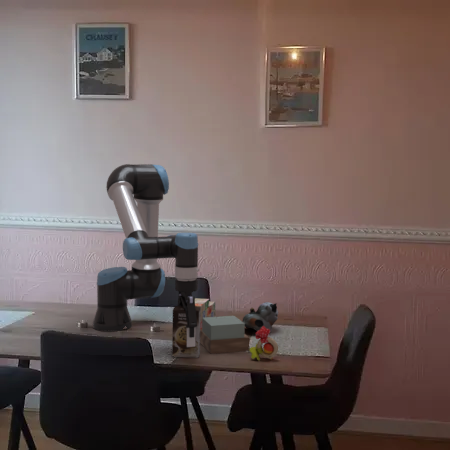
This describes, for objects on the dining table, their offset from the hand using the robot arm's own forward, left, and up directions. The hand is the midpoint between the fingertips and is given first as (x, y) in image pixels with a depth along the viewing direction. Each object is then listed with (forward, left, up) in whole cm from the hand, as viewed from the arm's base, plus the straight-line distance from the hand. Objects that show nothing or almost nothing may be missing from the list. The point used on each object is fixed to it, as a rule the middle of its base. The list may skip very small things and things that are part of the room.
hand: (186, 341), depth 206 cm
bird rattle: (+11, +24, -5) cm, 27 cm away
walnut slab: (-6, +15, -5) cm, 17 cm away
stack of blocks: (-31, +13, -5) cm, 34 cm away
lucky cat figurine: (-23, +34, -5) cm, 42 cm away
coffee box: (0, 0, -5) cm, 5 cm away
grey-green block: (-6, +15, 0) cm, 16 cm away
